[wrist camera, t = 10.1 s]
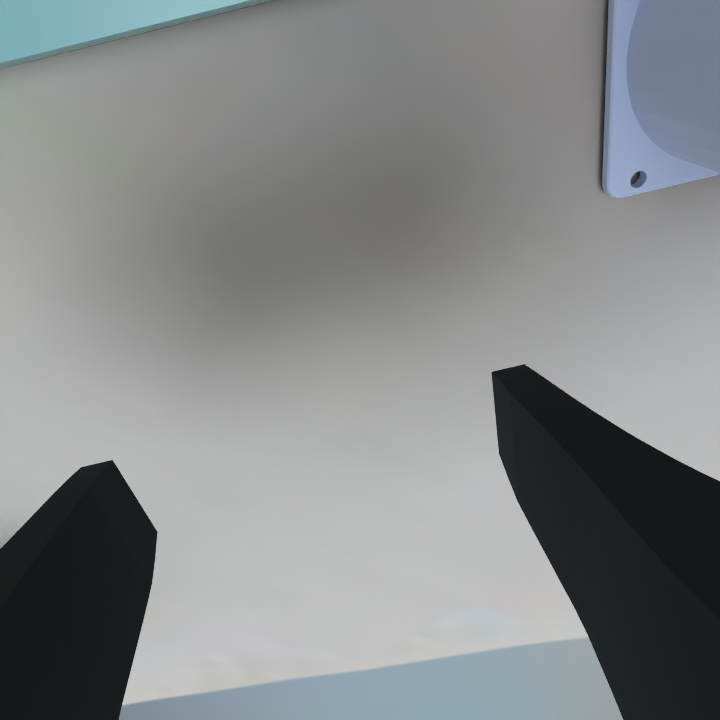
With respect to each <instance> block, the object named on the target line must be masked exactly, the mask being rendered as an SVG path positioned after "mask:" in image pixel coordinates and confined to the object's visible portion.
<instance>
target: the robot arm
mask: <svg viewBox="0 0 720 720" xmlns="http://www.w3.org/2000/svg"><path fill="white" fill-rule="evenodd" d="M638 171H640V176H639V179H638V180H637V182H636V183H634V184H632V185H631V183H630V180H631V177H632V176H633V175H634V174H635V173H636V172H638ZM717 175H720V0H609V7H608V36H607V64H606V92H605V120H604V148H603V176H602V186H603V190H604V192H605V193H606V194H607V195H609V196H611V197H613V198H624V197H629V196H633V195H637V194H641V193H645V192H650V191H654V190H658V189H662V188H666V187H671V186H675V185H679V184H683V183H687V182H692V181H696V180H700V179H704V178H708V177H712V176H717ZM492 381H493V392H494V403H495V414H496V425H497V436H498V447H499V455H500V457H501V460H502V463H503V465H504V468H505V470H506V473H507V476H508V478H509V481H510V483H511V486H512V488H513V491H514V493H515V496H516V498H517V501H518V503H519V505H520V507H521V509H522V510H523V512H524V514H525V516H526V518H527V520H528V522H529V524H530V526H531V527H532V529H533V531H534V533H535V535H536V537H537V539H538V541H539V542H540V544H541V546H542V548H543V550H544V552H545V554H546V555H547V557H548V559H549V561H550V563H551V565H552V567H553V568H554V570H555V572H556V574H557V576H558V578H559V580H560V582H561V583H562V585H563V587H564V589H565V591H566V593H567V595H568V596H569V598H570V600H571V602H572V604H573V606H574V608H575V609H576V612H577V614H578V616H579V618H580V620H581V622H582V624H583V626H584V628H585V630H586V632H587V634H588V636H589V639H590V641H591V643H592V646H593V648H594V650H595V652H596V655H597V657H598V660H599V662H600V664H601V667H602V669H603V671H604V674H605V676H606V679H607V681H608V683H609V686H610V688H611V690H612V692H613V695H614V698H615V700H616V702H617V705H618V707H619V710H620V712H621V715H622V717H623V719H624V720H720V481H718V480H716V479H714V478H712V477H709V476H707V475H705V474H703V473H701V472H699V471H697V470H695V469H693V468H691V467H689V466H687V465H685V464H683V463H681V462H679V461H677V460H675V459H673V458H672V457H670V456H668V455H666V454H664V453H663V452H661V451H659V450H657V449H655V448H654V447H652V446H650V445H648V444H646V443H645V442H643V441H641V440H639V439H637V438H636V437H634V436H632V435H631V434H629V433H627V432H626V431H624V430H622V429H621V428H619V427H618V426H616V425H615V424H613V423H611V422H610V421H608V420H607V419H605V418H603V417H602V416H600V415H599V414H597V413H595V412H594V411H592V410H591V409H589V408H588V407H586V406H585V405H583V404H582V403H580V402H579V401H577V400H576V399H574V398H573V397H571V396H570V395H568V394H567V393H565V392H564V391H563V390H561V389H560V388H558V387H557V386H555V385H554V384H552V383H551V382H550V381H548V380H547V379H545V378H544V377H542V376H541V375H539V374H538V373H537V372H535V371H534V370H532V369H531V368H529V367H528V366H526V365H525V364H524V365H520V366H515V367H511V368H507V369H503V370H498V371H494V372H492ZM156 541H157V531H156V529H155V527H154V526H153V524H152V523H151V521H150V519H149V518H148V516H147V515H146V513H145V511H144V510H143V508H142V507H141V505H140V503H139V502H138V500H137V499H136V497H135V495H134V494H133V492H132V491H131V489H130V487H129V486H128V484H127V483H126V481H125V479H124V478H123V476H122V475H121V473H120V471H119V470H118V468H117V467H116V465H115V463H114V462H113V460H111V461H107V462H102V463H98V464H94V465H89V466H85V467H81V468H80V469H79V470H78V471H77V472H76V473H74V474H73V475H72V476H71V477H70V478H69V479H68V480H67V481H66V482H65V483H64V484H63V485H62V486H61V487H60V488H59V489H58V490H57V491H56V492H55V493H54V494H53V495H52V496H51V497H50V498H49V499H48V500H47V501H46V502H45V503H44V504H43V505H42V506H41V507H40V508H39V509H38V511H37V512H36V513H35V514H34V515H33V516H32V517H31V518H30V519H29V520H28V521H27V522H26V523H25V524H24V525H23V526H22V527H21V528H20V529H19V530H18V531H17V532H16V534H15V535H14V536H13V537H12V538H11V539H10V540H9V541H8V542H7V543H6V544H5V545H4V546H3V547H2V548H1V549H0V720H119V715H120V710H121V706H122V702H123V698H124V694H125V690H126V687H127V683H128V679H129V675H130V671H131V667H132V663H133V659H134V655H135V651H136V647H137V643H138V639H139V635H140V631H141V627H142V623H143V619H144V615H145V611H146V607H147V602H148V598H149V594H150V590H151V585H152V578H153V570H154V562H155V552H156Z"/></svg>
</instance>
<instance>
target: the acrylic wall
mask: <svg viewBox="0 0 720 720" xmlns="http://www.w3.org/2000/svg"><path fill="white" fill-rule="evenodd" d="M269 1H273V0H0V69H1V68H5V67H9V66H13V65H17V64H21V63H25V62H29V61H33V60H37V59H41V58H45V57H49V56H53V55H57V54H61V53H65V52H69V51H73V50H77V49H81V48H85V47H89V46H93V45H97V44H101V43H105V42H109V41H113V40H117V39H121V38H125V37H129V36H133V35H137V34H141V33H145V32H149V31H153V30H157V29H161V28H165V27H169V26H173V25H177V24H181V23H185V22H189V21H193V20H197V19H201V18H205V17H209V16H213V15H217V14H221V13H225V12H229V11H233V10H237V9H241V8H245V7H249V6H253V5H257V4H261V3H265V2H269Z"/></svg>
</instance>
